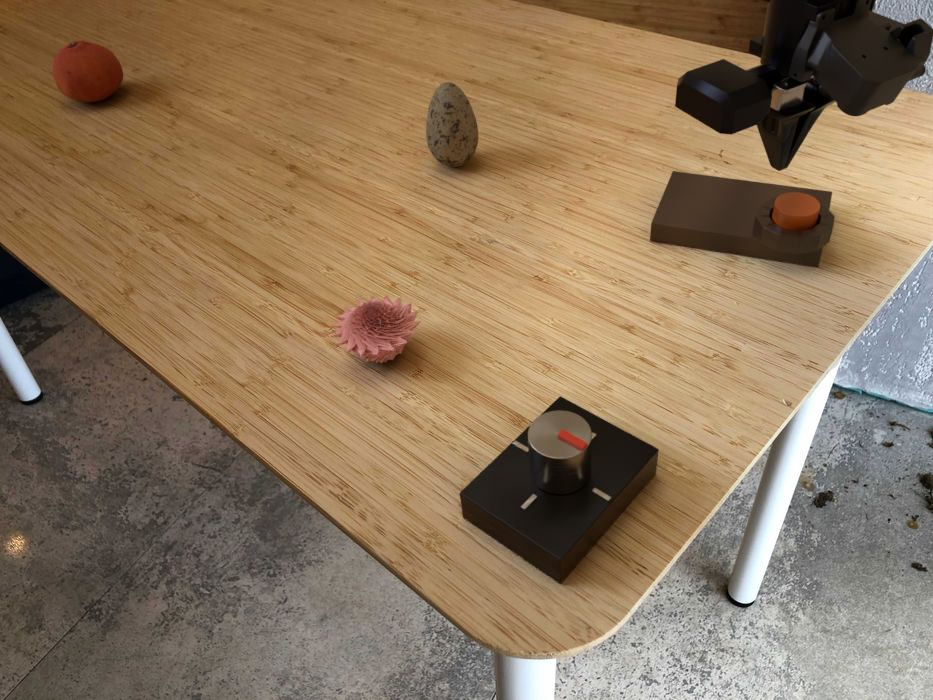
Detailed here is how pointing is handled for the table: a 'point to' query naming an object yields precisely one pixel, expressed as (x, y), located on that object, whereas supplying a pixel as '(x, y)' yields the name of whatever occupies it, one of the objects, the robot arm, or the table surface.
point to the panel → (559, 497)
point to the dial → (560, 452)
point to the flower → (376, 329)
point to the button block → (737, 219)
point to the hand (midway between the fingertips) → (778, 167)
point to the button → (796, 211)
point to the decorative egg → (451, 126)
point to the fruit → (87, 71)
